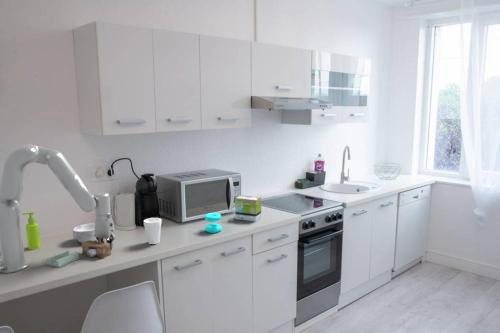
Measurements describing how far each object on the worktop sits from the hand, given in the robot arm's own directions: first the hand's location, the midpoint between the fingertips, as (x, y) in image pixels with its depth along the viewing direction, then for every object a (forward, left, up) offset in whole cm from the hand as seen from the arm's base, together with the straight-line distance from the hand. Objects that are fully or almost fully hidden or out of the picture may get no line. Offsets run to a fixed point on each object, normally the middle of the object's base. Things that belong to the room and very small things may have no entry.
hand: (105, 249), depth 209 cm
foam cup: (+19, -17, -1) cm, 25 cm away
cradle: (-19, +9, 0) cm, 21 cm away
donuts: (+49, -38, -1) cm, 62 cm away
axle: (-4, 0, 0) cm, 4 cm away
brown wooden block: (-6, 0, 0) cm, 6 cm away
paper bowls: (+9, +21, -1) cm, 23 cm away
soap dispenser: (-11, +40, -1) cm, 42 cm away
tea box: (+79, -48, -1) cm, 93 cm away
